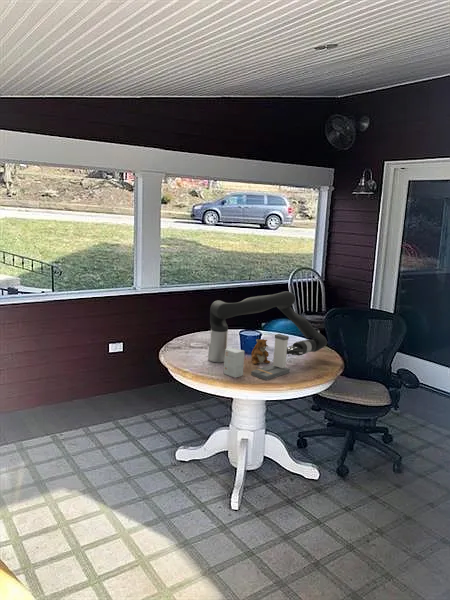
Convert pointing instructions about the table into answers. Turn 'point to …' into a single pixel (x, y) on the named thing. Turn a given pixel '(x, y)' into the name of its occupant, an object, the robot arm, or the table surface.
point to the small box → (234, 362)
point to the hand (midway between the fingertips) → (283, 352)
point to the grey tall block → (280, 350)
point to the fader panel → (269, 372)
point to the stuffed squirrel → (260, 352)
